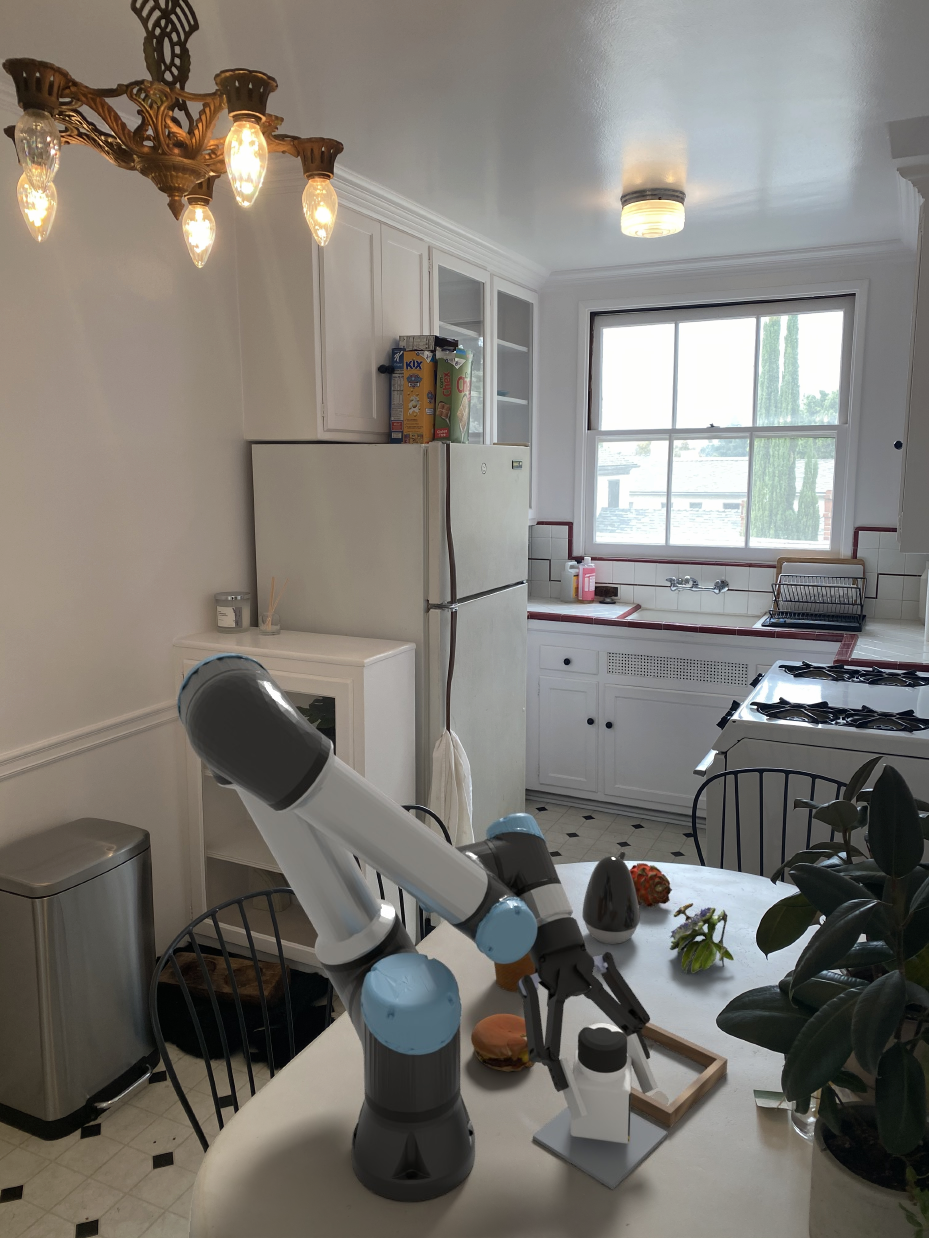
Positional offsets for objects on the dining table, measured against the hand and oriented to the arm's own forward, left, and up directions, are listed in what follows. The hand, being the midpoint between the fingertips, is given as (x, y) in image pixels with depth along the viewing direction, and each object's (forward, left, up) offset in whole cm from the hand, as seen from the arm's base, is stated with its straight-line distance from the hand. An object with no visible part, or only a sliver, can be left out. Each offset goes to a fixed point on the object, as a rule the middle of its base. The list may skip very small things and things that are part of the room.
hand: (616, 1103), depth 110 cm
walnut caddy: (+16, +5, -7) cm, 18 cm away
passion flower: (+48, +15, -7) cm, 51 cm away
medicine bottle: (+1, +3, -5) cm, 6 cm away
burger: (+5, +23, -7) cm, 24 cm away
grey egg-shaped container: (+44, +31, -7) cm, 54 cm away
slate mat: (+1, +3, -7) cm, 7 cm away
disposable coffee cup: (+21, +34, -7) cm, 40 cm away
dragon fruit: (+59, +34, -7) cm, 68 cm away
